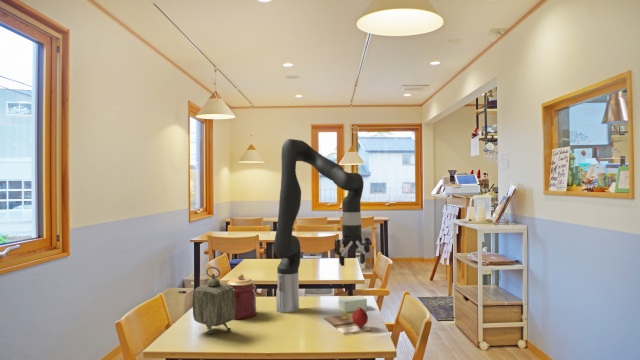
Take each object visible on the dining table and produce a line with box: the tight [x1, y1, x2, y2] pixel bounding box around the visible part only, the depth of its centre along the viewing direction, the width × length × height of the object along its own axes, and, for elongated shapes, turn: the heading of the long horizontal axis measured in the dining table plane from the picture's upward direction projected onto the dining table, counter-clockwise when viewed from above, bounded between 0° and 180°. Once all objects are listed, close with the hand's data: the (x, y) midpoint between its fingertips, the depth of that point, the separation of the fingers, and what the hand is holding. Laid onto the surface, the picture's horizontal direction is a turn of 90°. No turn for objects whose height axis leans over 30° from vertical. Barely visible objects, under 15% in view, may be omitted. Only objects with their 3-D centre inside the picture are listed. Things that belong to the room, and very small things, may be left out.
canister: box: [226, 273, 257, 320], centre depth 187 cm, size 13×13×18 cm
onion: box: [351, 307, 369, 328], centre depth 165 cm, size 6×6×8 cm
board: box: [323, 314, 373, 337], centre depth 170 cm, size 11×22×1 cm, turn 21°
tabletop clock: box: [192, 266, 235, 335], centre depth 166 cm, size 14×9×25 cm, turn 59°
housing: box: [338, 295, 368, 313], centre depth 190 cm, size 11×6×6 cm, turn 111°
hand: (352, 264), depth 171 cm, fingers open, 8 cm apart
